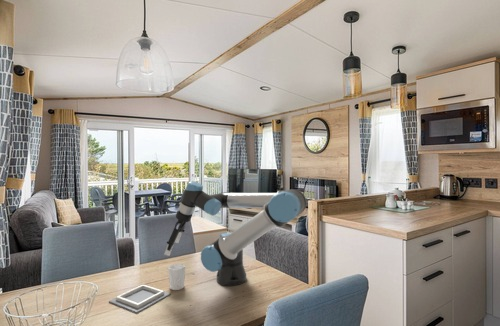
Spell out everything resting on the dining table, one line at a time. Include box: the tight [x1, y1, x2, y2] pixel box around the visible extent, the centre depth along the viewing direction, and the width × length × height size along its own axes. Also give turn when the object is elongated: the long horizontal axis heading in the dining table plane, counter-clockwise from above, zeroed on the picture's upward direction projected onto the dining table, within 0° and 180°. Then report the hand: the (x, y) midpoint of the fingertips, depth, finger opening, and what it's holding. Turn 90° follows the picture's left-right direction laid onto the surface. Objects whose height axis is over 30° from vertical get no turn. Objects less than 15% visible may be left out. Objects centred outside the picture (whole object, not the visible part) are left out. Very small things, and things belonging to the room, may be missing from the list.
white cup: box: [167, 263, 186, 291], centre depth 134 cm, size 8×8×10 cm
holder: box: [108, 284, 172, 314], centre depth 123 cm, size 18×18×2 cm
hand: (171, 248), depth 142 cm, fingers open, 13 cm apart
